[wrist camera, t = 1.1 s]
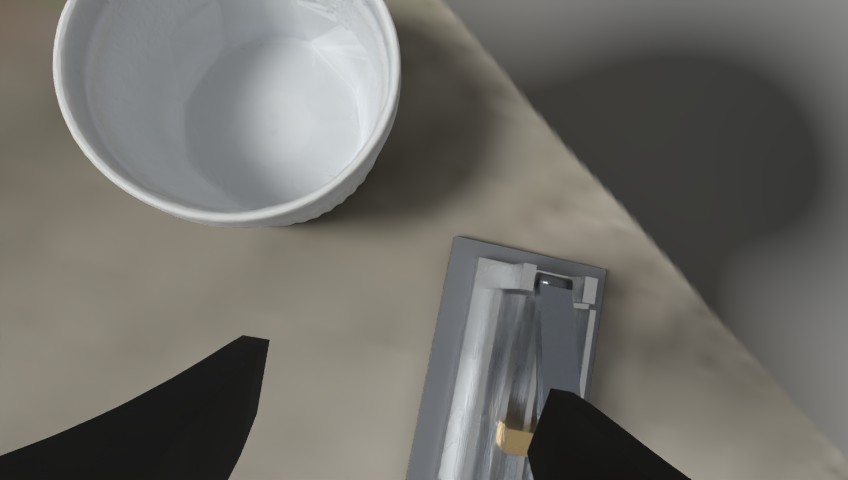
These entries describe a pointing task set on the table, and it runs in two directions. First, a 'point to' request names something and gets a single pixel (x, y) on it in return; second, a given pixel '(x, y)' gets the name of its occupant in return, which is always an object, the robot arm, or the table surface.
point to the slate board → (450, 330)
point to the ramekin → (230, 101)
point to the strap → (555, 337)
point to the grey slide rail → (501, 373)
